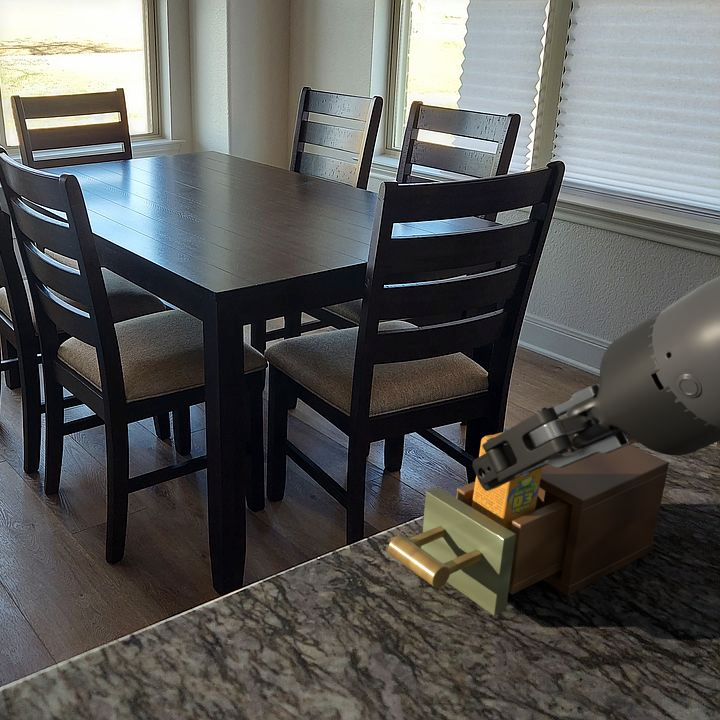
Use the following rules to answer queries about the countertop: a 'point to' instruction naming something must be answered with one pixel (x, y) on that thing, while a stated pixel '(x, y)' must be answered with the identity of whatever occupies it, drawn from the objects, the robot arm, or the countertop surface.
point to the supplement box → (507, 496)
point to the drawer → (485, 546)
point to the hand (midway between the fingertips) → (528, 461)
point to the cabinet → (606, 512)
